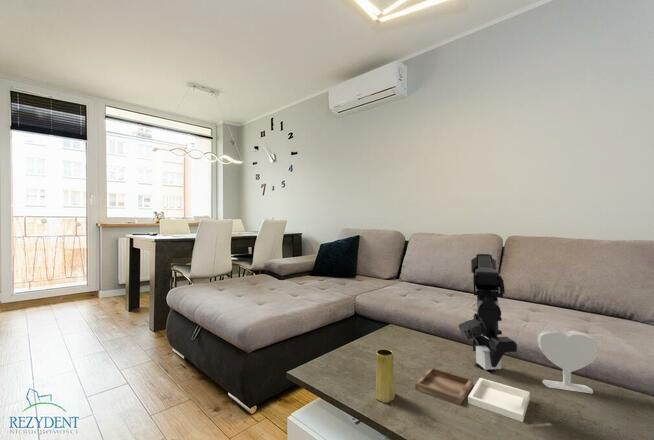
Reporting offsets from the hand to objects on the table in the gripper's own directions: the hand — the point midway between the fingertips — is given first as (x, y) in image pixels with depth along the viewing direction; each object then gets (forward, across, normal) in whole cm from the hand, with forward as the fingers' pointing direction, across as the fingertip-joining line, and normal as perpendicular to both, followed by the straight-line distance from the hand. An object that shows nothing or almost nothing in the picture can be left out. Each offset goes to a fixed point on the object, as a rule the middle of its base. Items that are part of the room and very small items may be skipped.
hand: (488, 362), depth 94 cm
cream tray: (+12, +2, +2) cm, 12 cm away
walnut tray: (+12, -7, -11) cm, 17 cm away
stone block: (+1, 0, 0) cm, 1 cm away
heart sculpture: (+12, -5, +30) cm, 32 cm away
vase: (+12, -5, -31) cm, 34 cm away
